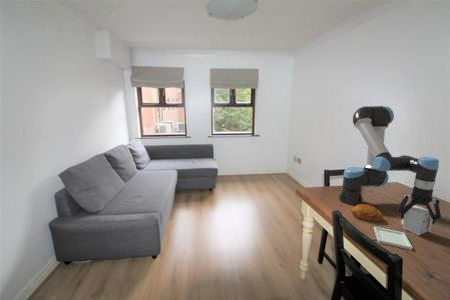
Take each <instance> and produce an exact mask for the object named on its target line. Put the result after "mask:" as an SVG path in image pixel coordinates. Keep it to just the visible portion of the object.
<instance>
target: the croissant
mask: <svg viewBox="0 0 450 300" xmlns="http://www.w3.org/2000/svg"><path fill="white" fill-rule="evenodd" d="M350 212H351V214H352V216H353V217H355V218H358V219H361V220H367V221H370V222H371V221H372V222H379V221H381V220H382V219H383V218H384V215H383V214H382V212H381V211H380V210H378V209H377V208H376V207H374V206H373V205H370V204H364V203H363V204H359V205H354V207H353V208H352V209H351V211H350Z"/></svg>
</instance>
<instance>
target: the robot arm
mask: <svg viewBox="0 0 450 300" xmlns="http://www.w3.org/2000/svg"><path fill="white" fill-rule="evenodd" d="M394 117H395V115H394V111H393V109H391V107H390V106H384V105H378V106H377V105H376V106H375V105H374V106H373V105H372V106H371V105H369V106H368V105H367V106H362V107H359V108H358V109H356V110H355V112H354V113H353V116H352V123H353V126H354V127H355V128H356V129H357V130H358V131H359V132H360V134H361V136H362V138H363V140H364V141H365V144H366V145H367V156H366V158H367V159H366V164H365V165H364V166H363V167H361V166H360V167H359V166H349V167H346V168H345V169H344V171H343V178H342V188H341V190H340V192H339V194H338V198H339V199H340V200H341V201H340V200H339V199H338V200H339V201H340V202H341V203H344V204H346V203H347V205H350V204H351V206H356V205H359V204H364V196H363V192H362V191H363V188H366V187H367V188H370V187H371V188H372V187H373V188H379V187H383V186H386V185H387V183H388V181H389V178H390V177H389V174H388V171H393V172H395V171H399V172H403V171H404V172H406V171H407V172H412V173H414V174H415V177H414V182H413V187H412V191H411V194H406V193H405V194H403V198H402V200H401V202H400V203H399V204H398V206H397V208H396V210H397V211H398V213H400V216H399V218H400V220H401V225H402V226H403V227H404V226H405V220H406V215H407V214H406V212H407V211H408V210H409V209H410V208H412V207H413V206H414V205H416V206H419V205H421V206H425V209H428V210H429V212H430V218H429V223H428V227H427V231H431V230H432V226H433V225H435V222H436V221H437V219H438V220H439V219H442V217H441V216H442V215H441V210H440V200H439V199H438V198H433V193H434V188H435V183H436V179H437V175H438V170H439V165H440V162H439V161H440V160H439V159H437V158H435V157H431V156H420V157H418V158H417V157H413V156H411V155H405V154H402V155H400V156H392V154H391V152H390V151H389V150H388V147H387V146H386V145H385V133H386V129H387V128H389V125H390V124H391V123H392V122H393V121H394ZM410 199H411V200H410ZM408 200H410V201H409V202H408ZM407 202H408V204H407ZM431 202H432V203H433V208H434V212H433V209H432V208H431V205H430V203H431Z"/></svg>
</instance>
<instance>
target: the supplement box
mask: <svg viewBox="0 0 450 300" xmlns="http://www.w3.org/2000/svg"><path fill="white" fill-rule="evenodd" d="M406 214H407V215H406V220H405V226H403V230H406V231H408V232H410V233H413V234H414V235H416V236H420V235H422V234H425V233H427V232H428V229H427V227H428V223H429V218H430V217H431V215H430V212H429V210H428V209H427V208H426V207H422V206H419V205H417V204H416V205H414V206H413V207H412V208H410V209H409V210H408V211H407V212H406Z"/></svg>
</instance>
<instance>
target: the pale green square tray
mask: <svg viewBox="0 0 450 300" xmlns="http://www.w3.org/2000/svg"><path fill="white" fill-rule="evenodd" d="M373 231H374V234H375V237H376V240H377V242H378V243H379V244H384V245H387V246H392V247H396V248H400V249H401V248H402V249H406V250H410V251H413V245H412V244H411V242H410V240H409V239H408V236H407V234H406V233H405V232H404V231H403V232H402V231H398V230H394V229H388V228H383V227H379V226H373Z"/></svg>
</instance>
